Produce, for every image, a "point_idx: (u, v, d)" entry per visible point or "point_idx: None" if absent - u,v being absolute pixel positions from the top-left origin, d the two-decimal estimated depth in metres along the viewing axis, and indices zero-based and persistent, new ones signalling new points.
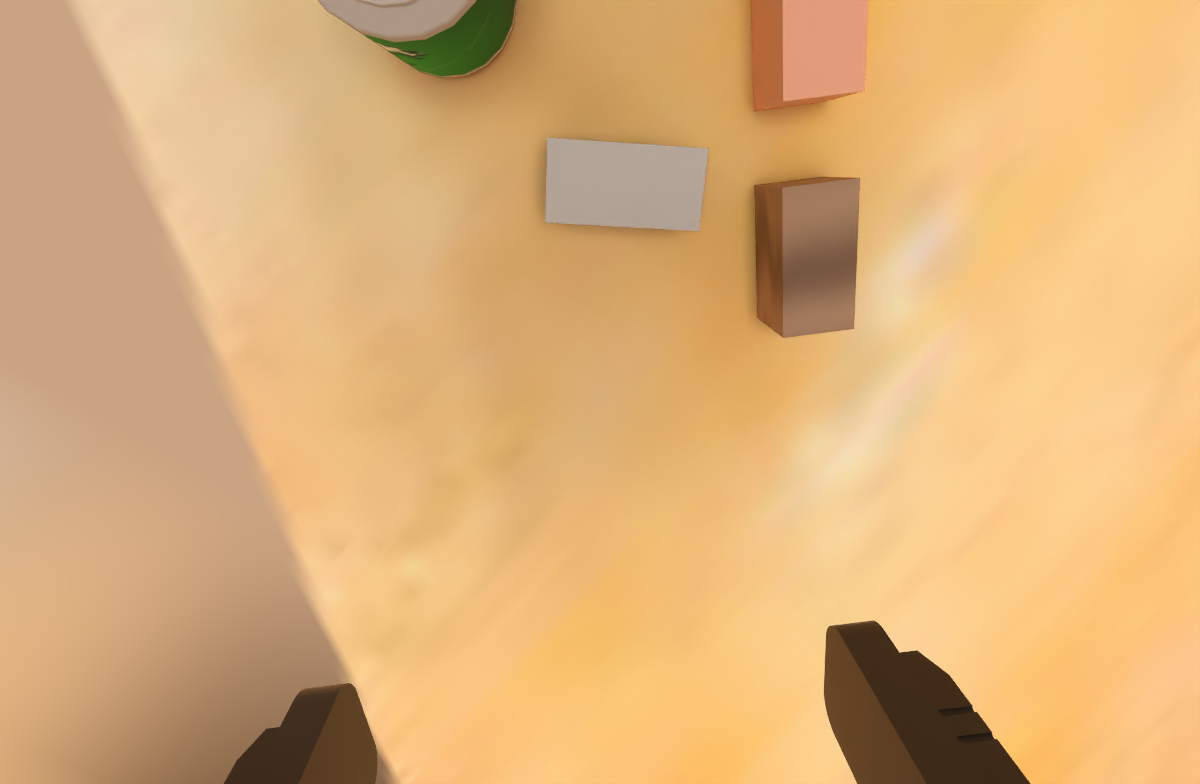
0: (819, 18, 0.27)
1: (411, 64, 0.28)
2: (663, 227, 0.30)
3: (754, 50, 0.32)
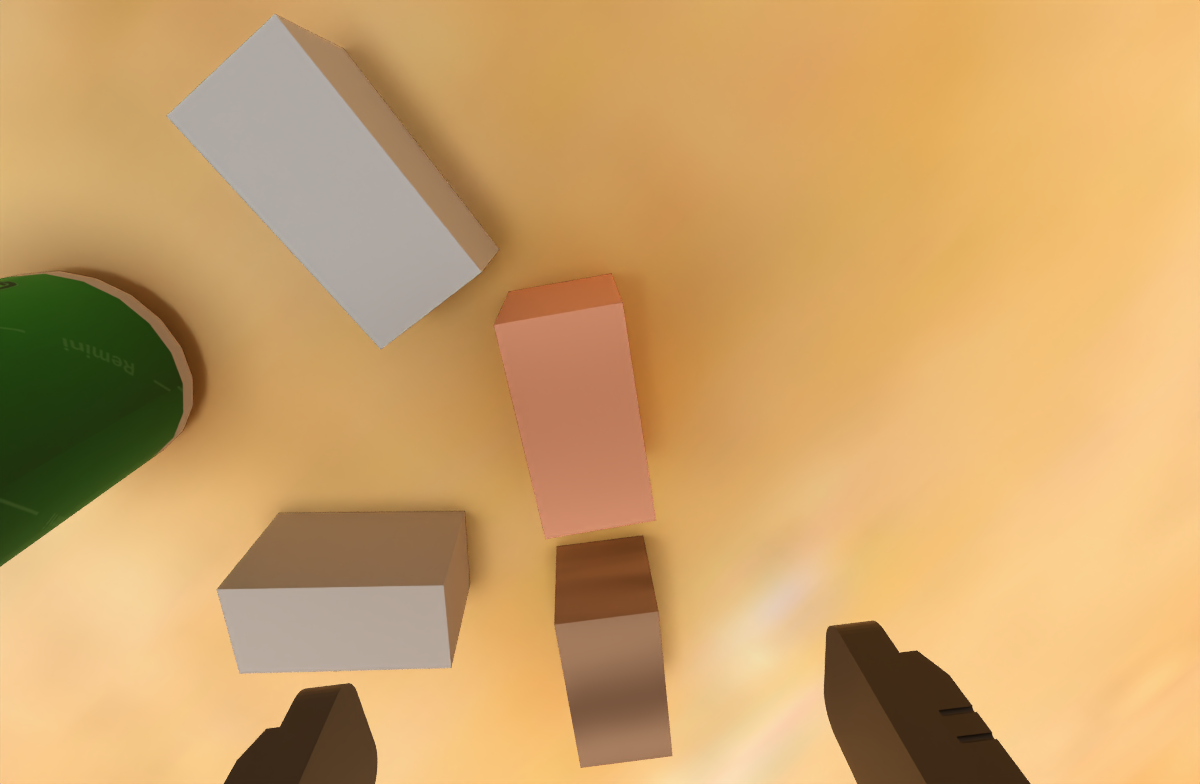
0: (576, 449, 0.20)
1: None
2: (402, 667, 0.23)
3: None
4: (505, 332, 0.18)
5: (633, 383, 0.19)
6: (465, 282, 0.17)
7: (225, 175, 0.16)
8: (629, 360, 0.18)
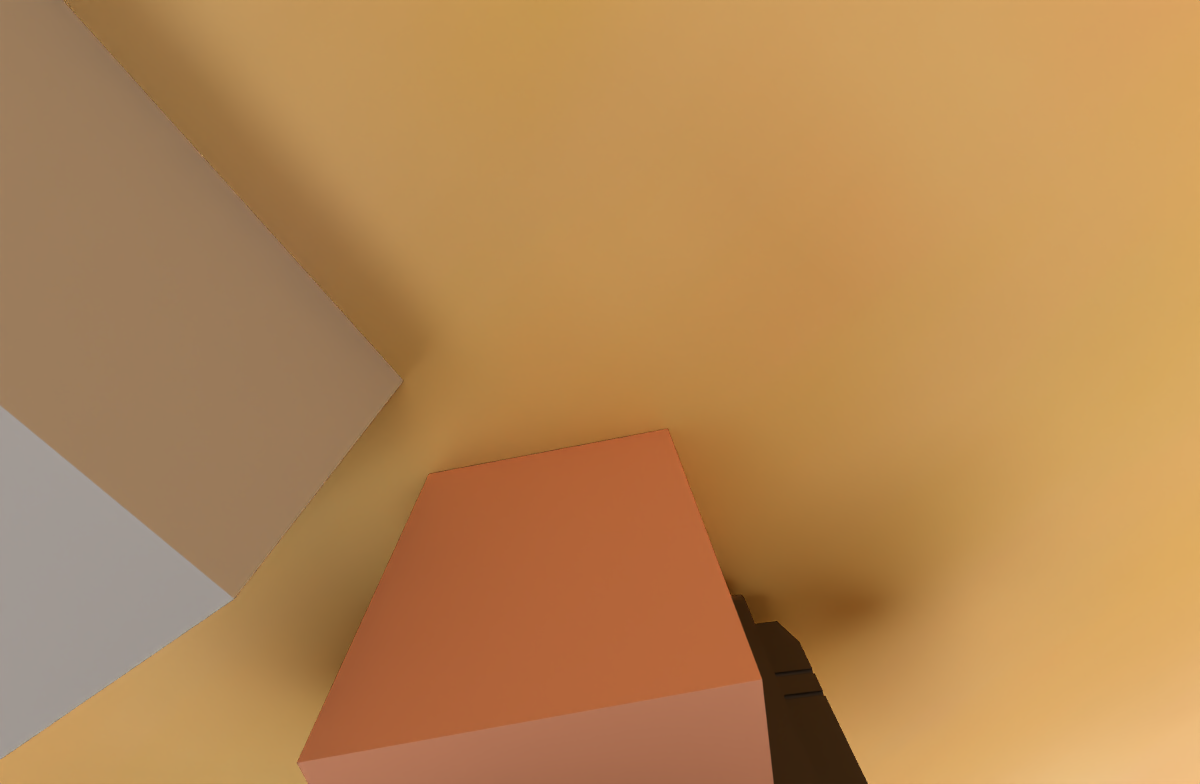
0: None
1: None
2: None
3: None
4: (342, 781, 0.05)
5: None
6: (175, 632, 0.05)
7: None
8: None
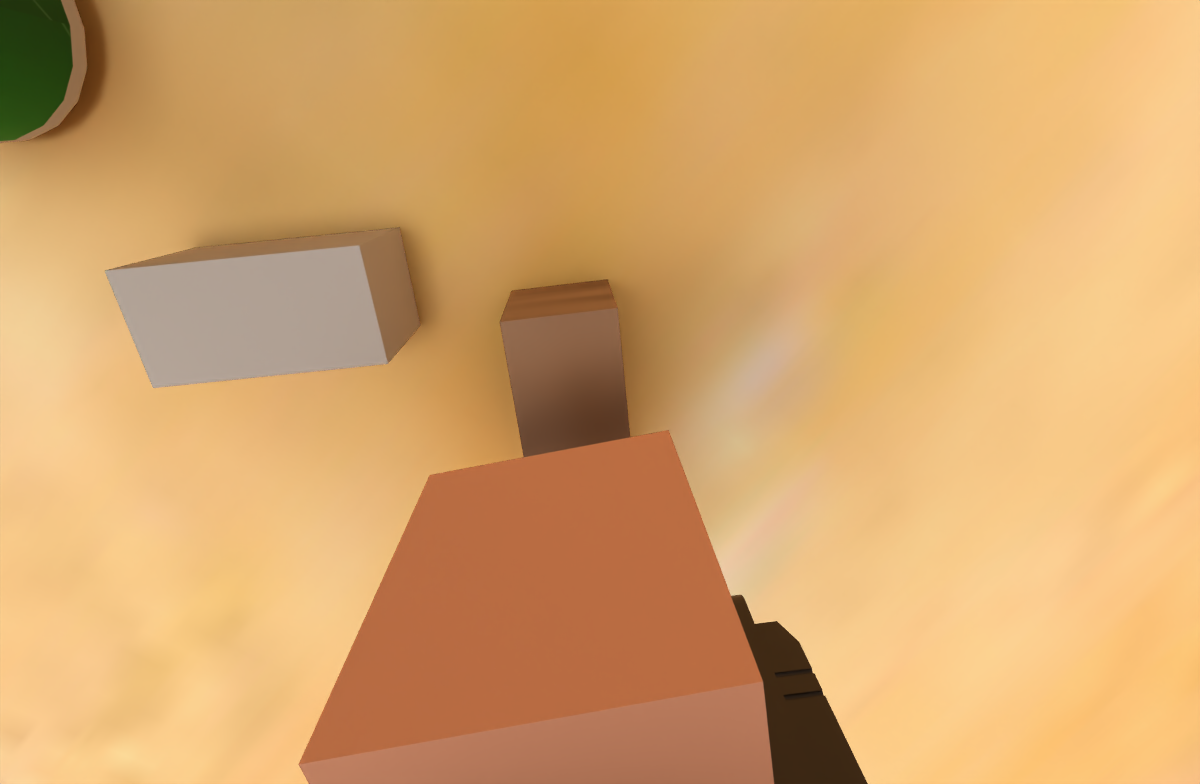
0: None
1: None
2: (332, 366, 0.20)
3: None
4: (344, 782, 0.05)
5: None
6: None
7: None
8: None
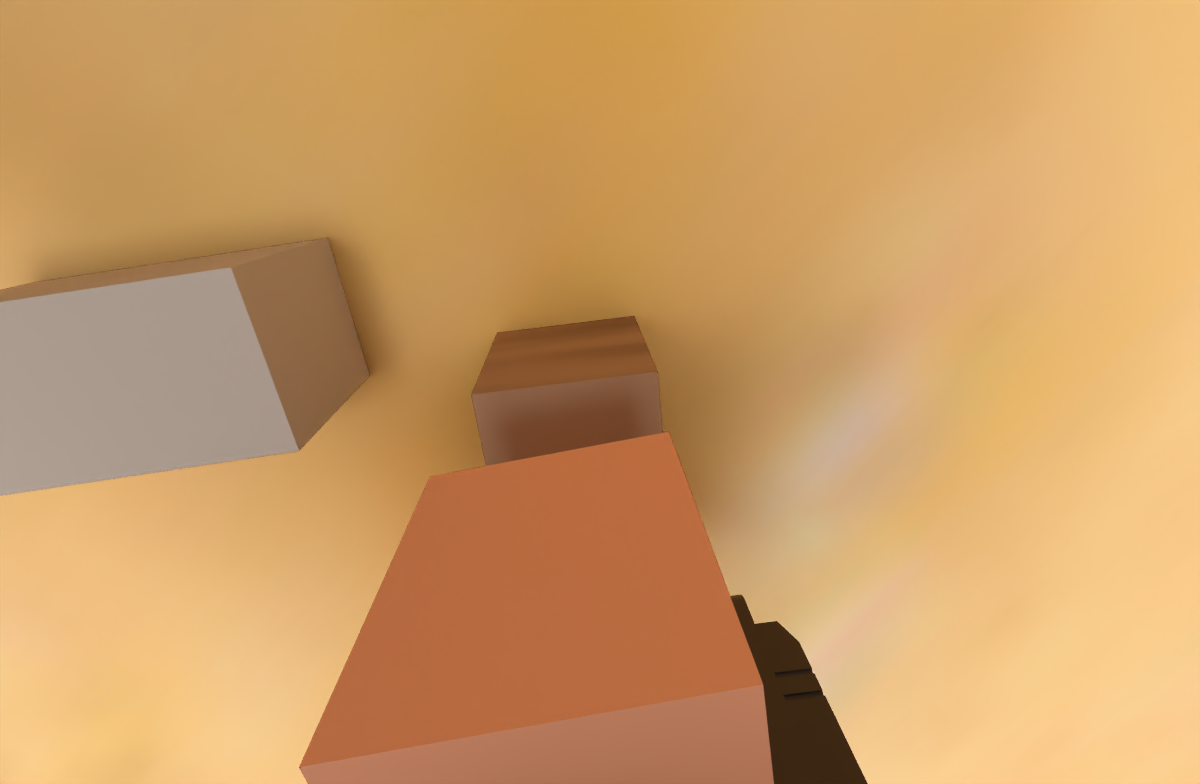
0: None
1: None
2: (212, 459, 0.13)
3: None
4: None
5: None
6: None
7: None
8: None
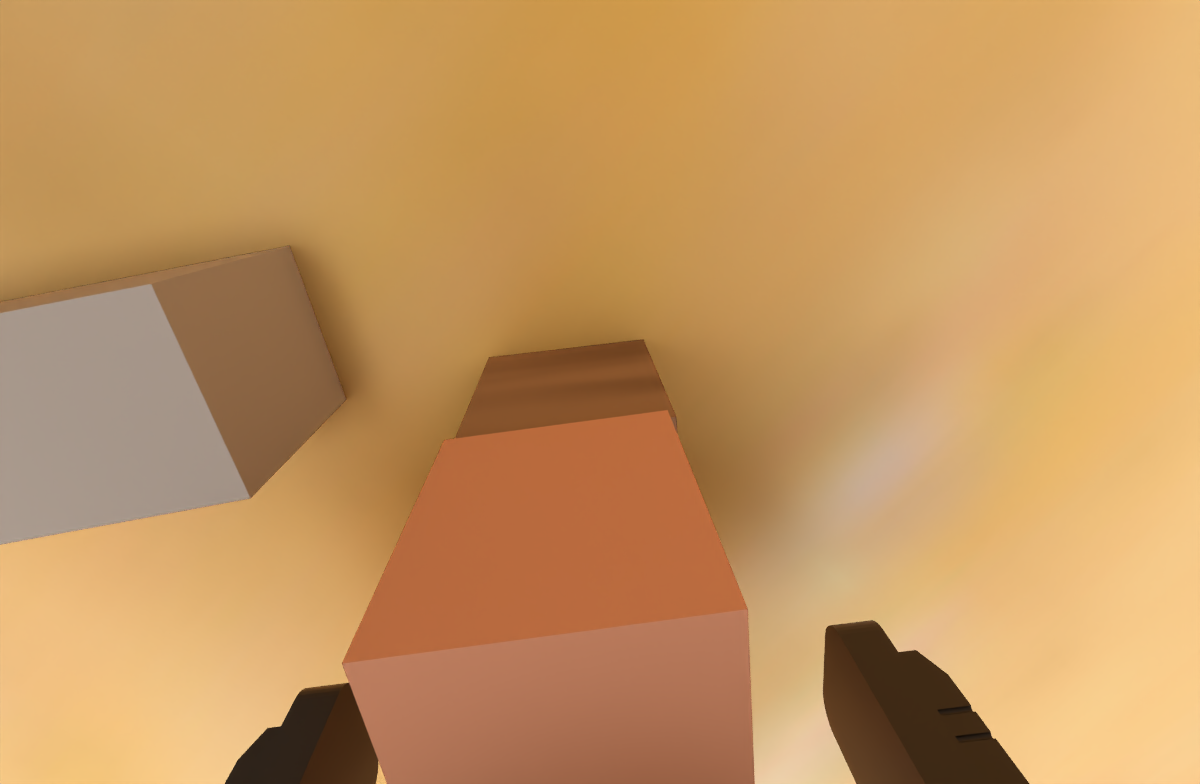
0: None
1: None
2: (149, 512, 0.11)
3: None
4: (379, 682, 0.06)
5: None
6: None
7: None
8: (747, 746, 0.06)
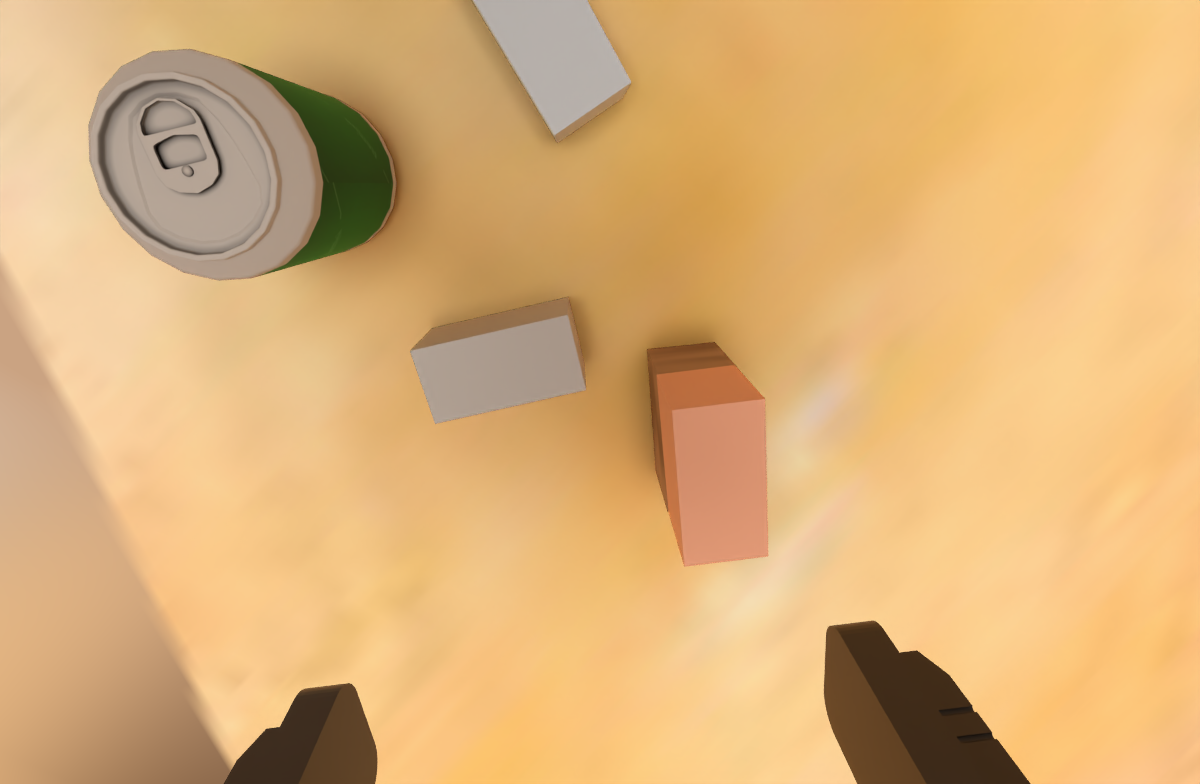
0: (717, 500, 0.27)
1: None
2: (549, 396, 0.30)
3: (665, 467, 0.31)
4: (679, 415, 0.25)
5: (765, 455, 0.26)
6: (619, 88, 0.25)
7: None
8: (764, 439, 0.26)
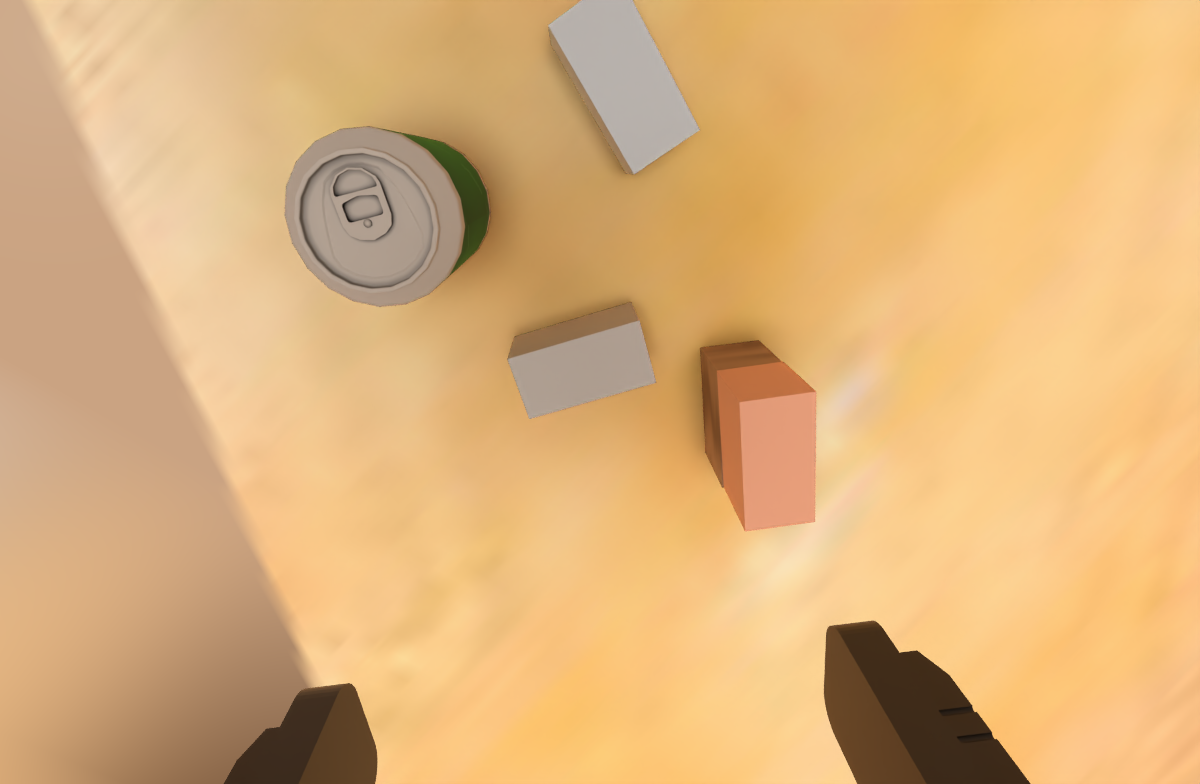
0: (774, 476, 0.32)
1: None
2: (625, 389, 0.35)
3: (723, 449, 0.36)
4: (745, 406, 0.30)
5: (814, 438, 0.31)
6: (689, 135, 0.30)
7: (571, 61, 0.29)
8: (814, 424, 0.31)
